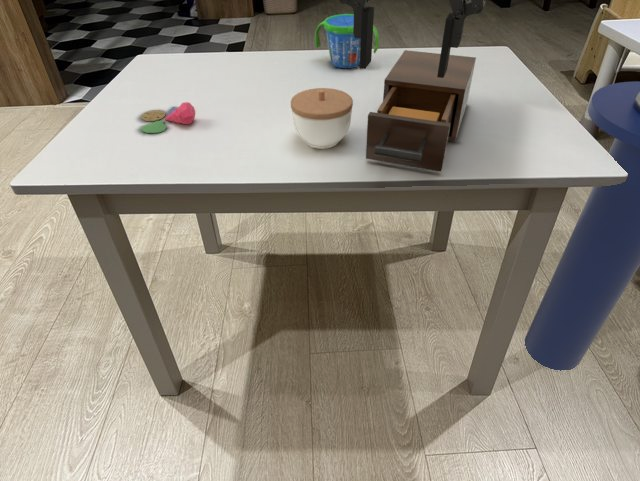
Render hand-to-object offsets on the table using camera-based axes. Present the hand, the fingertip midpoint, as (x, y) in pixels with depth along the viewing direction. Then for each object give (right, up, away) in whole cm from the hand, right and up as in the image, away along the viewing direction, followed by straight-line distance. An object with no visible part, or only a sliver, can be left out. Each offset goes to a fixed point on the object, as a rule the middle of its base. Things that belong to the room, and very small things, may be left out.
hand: (402, 69), depth 57 cm
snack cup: (-4, +22, +55) cm, 60 cm away
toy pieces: (-41, +2, +34) cm, 53 cm away
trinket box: (-10, -3, +27) cm, 28 cm away
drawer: (+5, -6, +21) cm, 22 cm away
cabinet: (+10, +3, +32) cm, 34 cm away
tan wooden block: (+5, -5, +21) cm, 22 cm away
